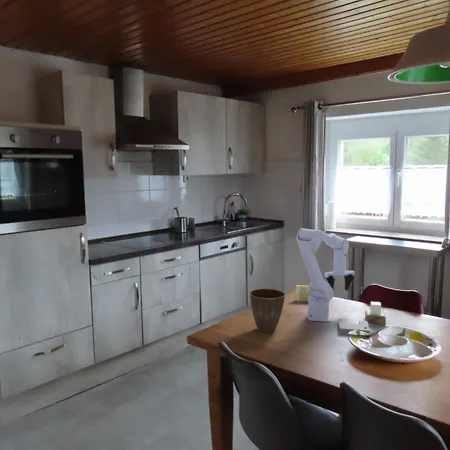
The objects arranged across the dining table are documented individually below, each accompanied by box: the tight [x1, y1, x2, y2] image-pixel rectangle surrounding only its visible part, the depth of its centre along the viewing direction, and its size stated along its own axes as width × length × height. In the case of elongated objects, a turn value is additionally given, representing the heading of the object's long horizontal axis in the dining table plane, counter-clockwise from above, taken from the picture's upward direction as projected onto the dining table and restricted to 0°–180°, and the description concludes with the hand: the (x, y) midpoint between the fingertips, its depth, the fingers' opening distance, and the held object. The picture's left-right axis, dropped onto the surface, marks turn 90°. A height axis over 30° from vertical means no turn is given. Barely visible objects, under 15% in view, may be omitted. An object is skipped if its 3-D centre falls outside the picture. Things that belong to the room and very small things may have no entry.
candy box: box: [295, 284, 312, 302], centre depth 233 cm, size 16×2×8 cm, turn 84°
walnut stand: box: [364, 309, 387, 326], centre depth 202 cm, size 8×8×4 cm
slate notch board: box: [338, 318, 371, 336], centre depth 191 cm, size 12×12×2 cm
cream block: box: [369, 301, 382, 315], centre depth 201 cm, size 4×4×4 cm
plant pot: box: [249, 288, 286, 334], centre depth 190 cm, size 15×15×16 cm
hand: (339, 290), depth 215 cm, fingers open, 7 cm apart
